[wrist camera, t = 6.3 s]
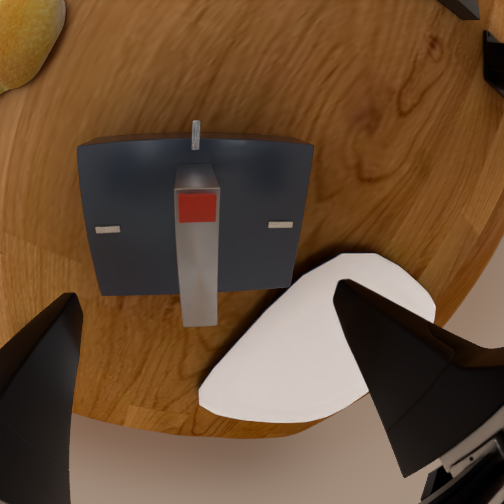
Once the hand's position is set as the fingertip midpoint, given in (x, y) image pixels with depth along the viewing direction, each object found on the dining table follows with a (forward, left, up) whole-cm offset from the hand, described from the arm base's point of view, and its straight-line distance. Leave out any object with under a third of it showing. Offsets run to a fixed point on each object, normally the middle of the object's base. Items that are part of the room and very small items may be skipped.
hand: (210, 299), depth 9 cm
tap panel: (0, 0, -9) cm, 9 cm away
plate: (-14, +18, -10) cm, 25 cm away
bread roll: (+13, -12, -10) cm, 20 cm away
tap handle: (0, 0, -6) cm, 6 cm away
